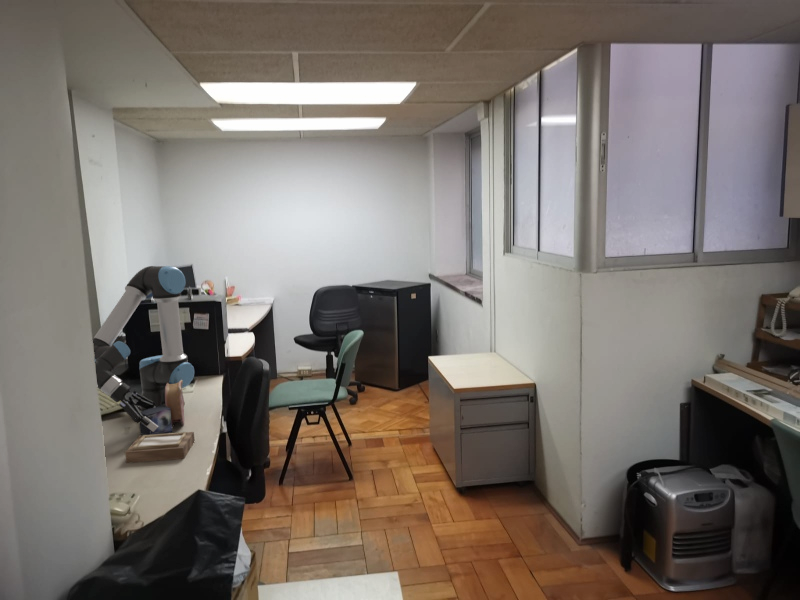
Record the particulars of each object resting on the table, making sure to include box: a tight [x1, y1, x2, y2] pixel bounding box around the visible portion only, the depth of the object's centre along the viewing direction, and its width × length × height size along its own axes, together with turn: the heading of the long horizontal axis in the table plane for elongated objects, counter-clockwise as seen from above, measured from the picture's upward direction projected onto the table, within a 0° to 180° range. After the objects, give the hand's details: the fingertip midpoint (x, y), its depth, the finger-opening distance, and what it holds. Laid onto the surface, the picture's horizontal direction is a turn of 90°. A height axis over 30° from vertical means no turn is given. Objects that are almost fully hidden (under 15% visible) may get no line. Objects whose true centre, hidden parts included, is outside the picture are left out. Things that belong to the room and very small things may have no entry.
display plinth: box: [124, 431, 196, 464], centre depth 222 cm, size 16×20×5 cm
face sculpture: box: [165, 380, 186, 428], centre depth 253 cm, size 20×7×17 cm, turn 19°
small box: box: [139, 405, 173, 436], centre depth 240 cm, size 11×6×10 cm, turn 144°
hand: (160, 423), depth 240 cm, fingers closed on small box, 11 cm apart
